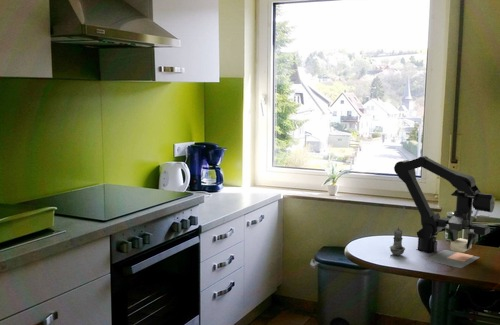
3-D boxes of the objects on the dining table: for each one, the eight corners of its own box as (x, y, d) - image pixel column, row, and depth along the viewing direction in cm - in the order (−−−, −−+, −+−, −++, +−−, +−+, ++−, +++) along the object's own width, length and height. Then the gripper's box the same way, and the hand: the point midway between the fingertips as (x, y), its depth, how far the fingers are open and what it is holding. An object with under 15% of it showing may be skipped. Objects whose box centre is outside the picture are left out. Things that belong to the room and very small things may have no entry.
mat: (424, 260, 200) (424, 259, 200) (444, 250, 213) (444, 249, 213) (460, 269, 191) (460, 268, 191) (479, 258, 204) (479, 257, 204)
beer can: (450, 241, 226) (451, 214, 225) (442, 238, 231) (444, 211, 230) (460, 241, 228) (462, 214, 226) (452, 237, 233) (454, 211, 231)
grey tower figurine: (391, 253, 209) (392, 224, 208) (406, 255, 206) (407, 226, 205) (387, 257, 204) (388, 227, 203) (402, 260, 201) (404, 229, 200)
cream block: (458, 245, 208) (459, 238, 207) (471, 248, 204) (471, 240, 204) (450, 249, 202) (450, 242, 202) (463, 252, 199) (463, 244, 198)
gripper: (431, 207, 202) (428, 246, 204) (480, 216, 189) (477, 257, 191) (443, 203, 210) (441, 240, 212) (491, 211, 197) (488, 251, 199)
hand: (461, 247), depth 203 cm, fingers closed on cream block, 5 cm apart
